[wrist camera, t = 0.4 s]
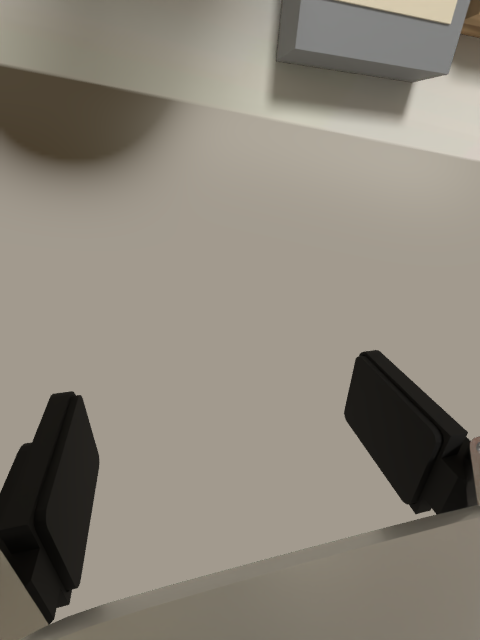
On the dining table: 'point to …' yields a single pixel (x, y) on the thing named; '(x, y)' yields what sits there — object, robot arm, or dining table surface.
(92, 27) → the dining table surface
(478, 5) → the pallet
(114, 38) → the dining table surface
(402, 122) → the dining table surface
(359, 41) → the dock
